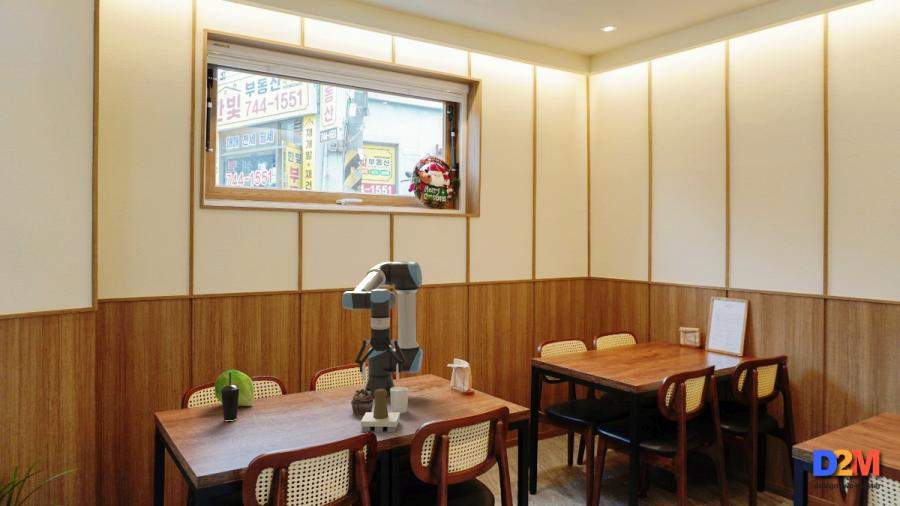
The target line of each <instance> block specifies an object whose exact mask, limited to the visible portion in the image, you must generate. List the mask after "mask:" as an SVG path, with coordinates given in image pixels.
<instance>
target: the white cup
mask: <svg viewBox="0 0 900 506" xmlns="http://www.w3.org/2000/svg"><path fill="white" fill-rule="evenodd" d="M390 394H391V396H390V406H391V407H390V408H391V412H400V415H401V414H404V413H407V412H408V406H409V405H408V404H409V402H408V401H409V387H406V386H395V387H393V388H391V389H390Z"/></svg>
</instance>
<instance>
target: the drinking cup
mask: <svg viewBox="0 0 900 506" xmlns="http://www.w3.org/2000/svg"><path fill="white" fill-rule="evenodd" d="M239 389H240V386H237V385H232V384H231V372H229V385H226V386H224V387H222V388H220V390H221V395H222V403H221V404H222V413H223V421H224V420H234V419H238V408H239V406H238V397H239Z"/></svg>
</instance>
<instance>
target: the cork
mask: <svg viewBox="0 0 900 506" xmlns="http://www.w3.org/2000/svg"><path fill="white" fill-rule="evenodd" d="M374 396H375V397H374V399H375V400H374V409H373V412H374V415H373V418H375V419H385V418H388V412H389V411H388V404H387V403H388V402H387V397H388V396H387V391H386V390H385V389H377V390H375V392H374Z"/></svg>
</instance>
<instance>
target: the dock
mask: <svg viewBox="0 0 900 506" xmlns="http://www.w3.org/2000/svg"><path fill="white" fill-rule="evenodd" d="M373 415H374V411H371V412H366V413H365V415H363V416H362V419H361V421H360V427H361V431H362V432H364V433H365V432H367V431H370V432H371V430H372V429H373V427H374V432H377V433H379V432H383V431H384V430H385V428H387V432H388V433H391V432H392V433H395V432H396V430H397V428H398V425H399V423H400V418H401V414H400V412H392V411H390V412H389V411H388V418H385V419H375V418H373Z"/></svg>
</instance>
